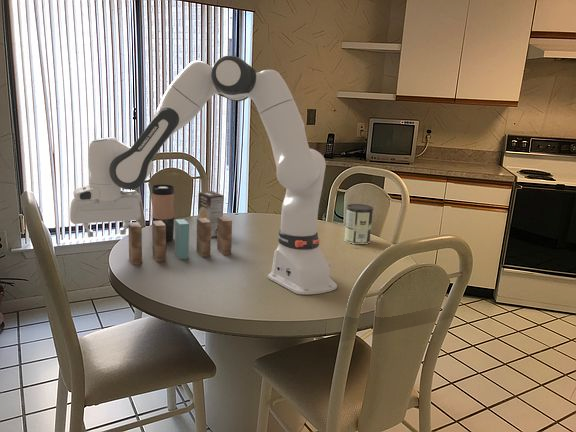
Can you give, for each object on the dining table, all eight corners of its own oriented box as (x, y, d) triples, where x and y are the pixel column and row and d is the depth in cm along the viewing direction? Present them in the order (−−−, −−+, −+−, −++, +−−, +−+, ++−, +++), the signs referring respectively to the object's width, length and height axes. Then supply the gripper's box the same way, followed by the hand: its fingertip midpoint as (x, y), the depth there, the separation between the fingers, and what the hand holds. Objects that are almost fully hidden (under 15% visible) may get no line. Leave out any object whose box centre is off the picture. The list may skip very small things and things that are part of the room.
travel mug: (173, 236, 181) (173, 184, 176) (174, 242, 174) (174, 188, 169) (152, 236, 179) (152, 184, 174) (152, 242, 172) (151, 188, 167)
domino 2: (183, 252, 163) (184, 219, 160) (188, 258, 158) (189, 223, 155) (175, 253, 162) (175, 219, 159) (179, 259, 157) (179, 224, 154)
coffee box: (197, 231, 189) (197, 191, 185) (211, 229, 193) (211, 190, 189) (209, 237, 182) (209, 196, 178) (223, 235, 186) (224, 195, 182)
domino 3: (204, 250, 167) (205, 217, 164) (210, 256, 161) (211, 222, 159) (196, 251, 165) (196, 218, 162) (201, 257, 160) (202, 222, 157)
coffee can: (356, 236, 196) (359, 202, 193) (375, 242, 188) (378, 208, 185) (338, 239, 190) (341, 205, 187) (356, 246, 182) (360, 210, 179)
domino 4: (225, 248, 170) (226, 216, 167) (231, 254, 165) (232, 220, 162) (217, 249, 169) (217, 216, 166) (222, 254, 164) (223, 221, 161)
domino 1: (161, 255, 160) (161, 220, 157) (165, 260, 155) (165, 225, 152) (152, 255, 158) (152, 221, 156) (156, 261, 153) (156, 225, 150)
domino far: (138, 257, 156) (138, 221, 153) (142, 263, 151) (141, 226, 148) (129, 258, 155) (128, 222, 152) (132, 264, 150) (131, 227, 147)
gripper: (138, 188, 151) (139, 230, 154) (68, 190, 142) (70, 235, 145) (142, 192, 146) (143, 235, 149) (69, 194, 136) (72, 241, 140)
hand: (106, 235), depth 147 cm, fingers open, 8 cm apart
